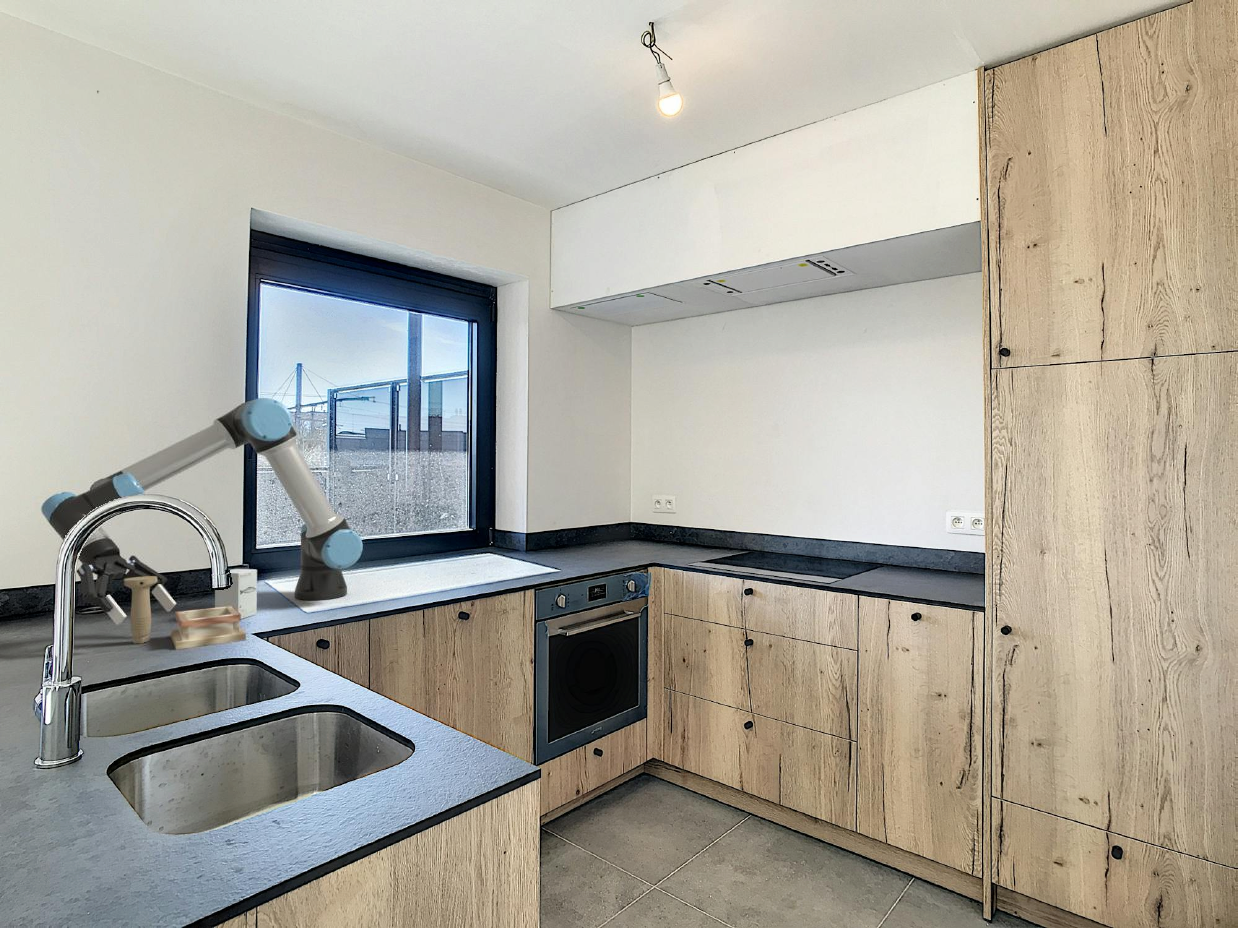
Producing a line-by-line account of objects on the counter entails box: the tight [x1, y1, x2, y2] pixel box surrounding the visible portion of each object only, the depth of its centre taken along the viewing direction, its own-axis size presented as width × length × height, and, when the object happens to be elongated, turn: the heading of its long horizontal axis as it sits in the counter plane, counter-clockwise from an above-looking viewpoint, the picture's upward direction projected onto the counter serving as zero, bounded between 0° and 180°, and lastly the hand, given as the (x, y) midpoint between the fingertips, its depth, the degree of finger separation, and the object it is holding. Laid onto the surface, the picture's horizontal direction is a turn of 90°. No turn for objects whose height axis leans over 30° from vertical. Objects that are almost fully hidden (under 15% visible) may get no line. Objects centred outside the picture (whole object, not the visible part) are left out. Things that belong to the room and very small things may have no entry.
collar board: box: [170, 606, 247, 650], centre depth 166 cm, size 14×14×6 cm
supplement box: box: [214, 568, 258, 620], centre depth 188 cm, size 7×7×13 cm
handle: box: [123, 576, 157, 645], centre depth 162 cm, size 5×6×15 cm
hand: (148, 613), depth 161 cm, fingers open, 13 cm apart
